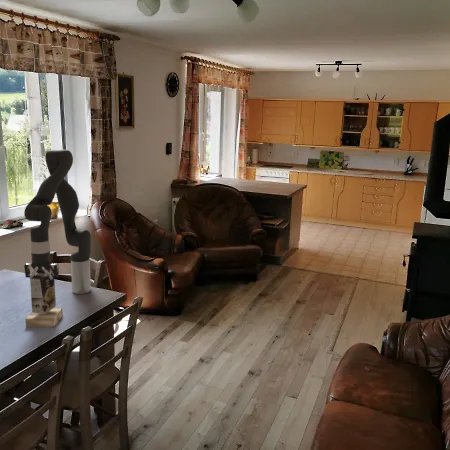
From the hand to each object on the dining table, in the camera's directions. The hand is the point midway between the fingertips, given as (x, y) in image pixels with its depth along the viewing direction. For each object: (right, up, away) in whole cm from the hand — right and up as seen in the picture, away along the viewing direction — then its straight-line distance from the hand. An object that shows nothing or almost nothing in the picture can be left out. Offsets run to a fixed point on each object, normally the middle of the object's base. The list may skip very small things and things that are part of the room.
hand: (42, 286), depth 196 cm
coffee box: (0, -11, +3) cm, 11 cm away
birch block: (-1, -16, +4) cm, 17 cm away
